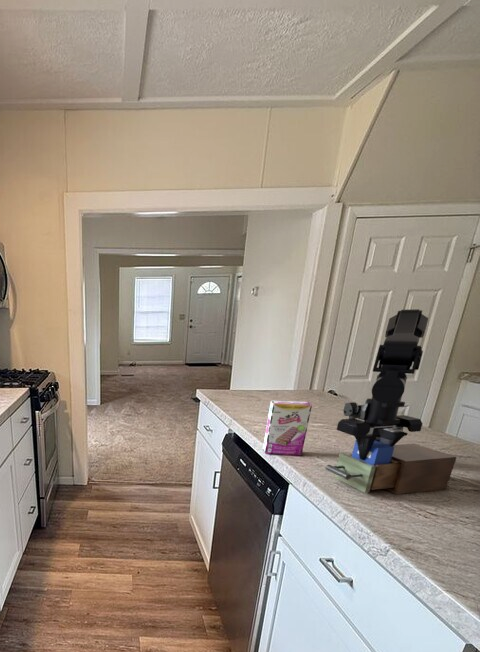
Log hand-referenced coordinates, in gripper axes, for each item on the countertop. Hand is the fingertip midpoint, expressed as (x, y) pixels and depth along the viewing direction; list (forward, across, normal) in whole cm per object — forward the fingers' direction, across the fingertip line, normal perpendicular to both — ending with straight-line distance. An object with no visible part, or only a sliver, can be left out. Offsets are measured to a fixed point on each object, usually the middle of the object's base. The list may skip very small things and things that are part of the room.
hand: (370, 458), depth 100 cm
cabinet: (+8, -11, 0) cm, 14 cm away
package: (+1, 0, 0) cm, 1 cm away
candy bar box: (+8, +4, -29) cm, 30 cm away
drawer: (+7, 0, 0) cm, 7 cm away
